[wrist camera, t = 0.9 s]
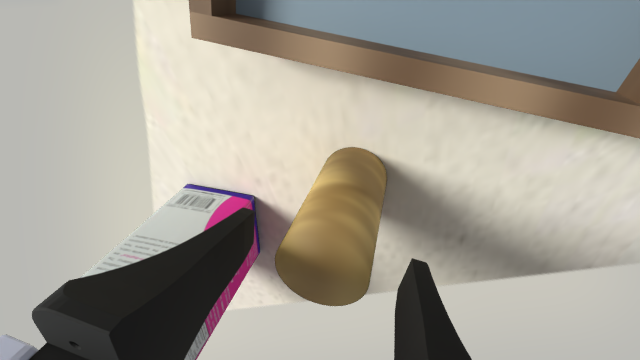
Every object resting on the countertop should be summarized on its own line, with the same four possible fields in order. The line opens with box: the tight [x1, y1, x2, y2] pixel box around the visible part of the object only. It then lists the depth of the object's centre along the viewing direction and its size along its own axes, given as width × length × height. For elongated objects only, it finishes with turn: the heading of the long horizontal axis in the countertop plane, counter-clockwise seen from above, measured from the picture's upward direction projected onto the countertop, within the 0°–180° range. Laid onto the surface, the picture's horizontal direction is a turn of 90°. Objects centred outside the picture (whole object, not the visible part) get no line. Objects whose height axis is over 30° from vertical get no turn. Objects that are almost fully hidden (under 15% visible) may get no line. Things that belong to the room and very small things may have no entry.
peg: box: [275, 147, 387, 306], centre depth 16 cm, size 4×4×8 cm
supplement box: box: [80, 184, 260, 360], centre depth 19 cm, size 6×6×12 cm
